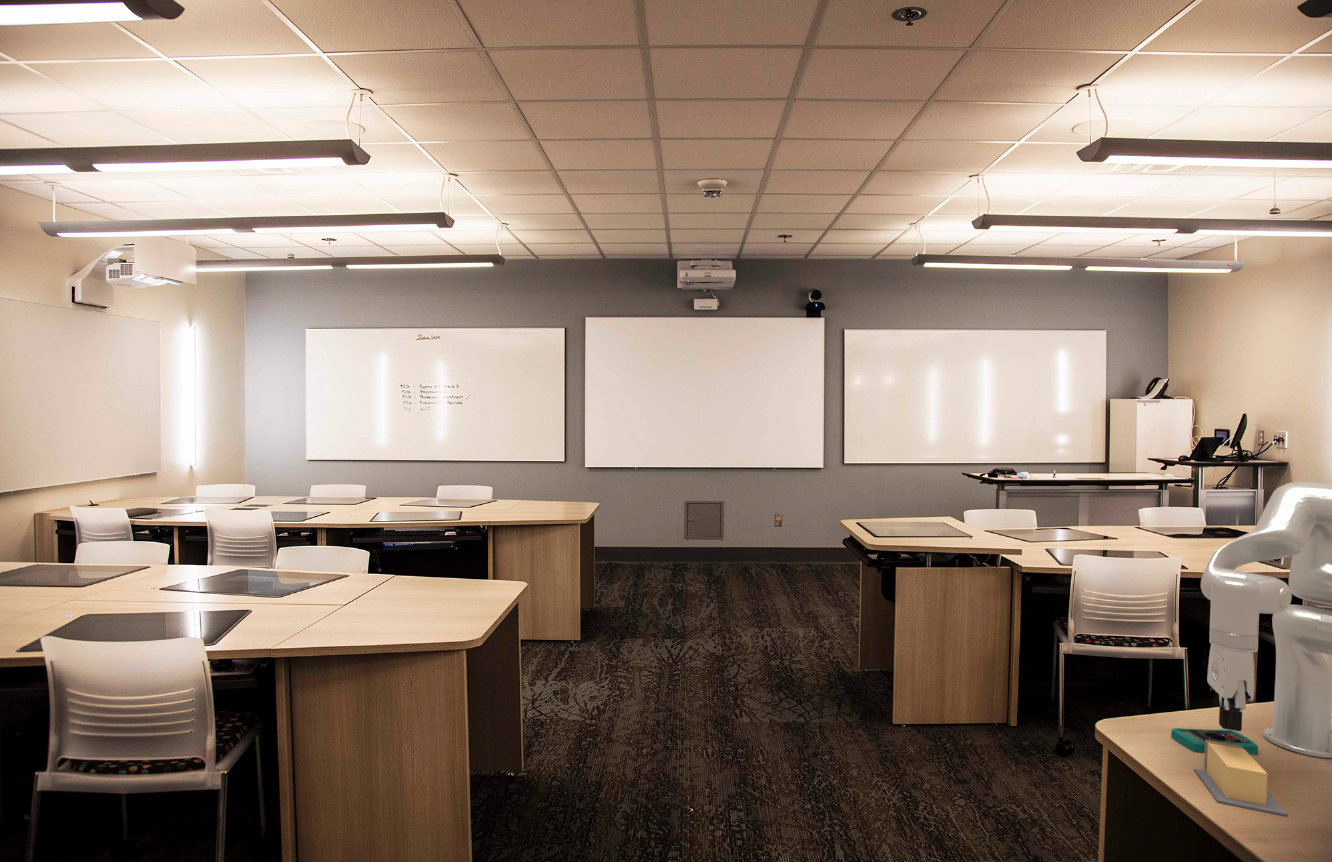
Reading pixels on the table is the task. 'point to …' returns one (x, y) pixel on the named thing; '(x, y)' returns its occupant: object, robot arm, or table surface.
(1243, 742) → the digital multimeter
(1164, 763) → the table surface
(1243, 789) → the ochre block
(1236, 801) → the mat
